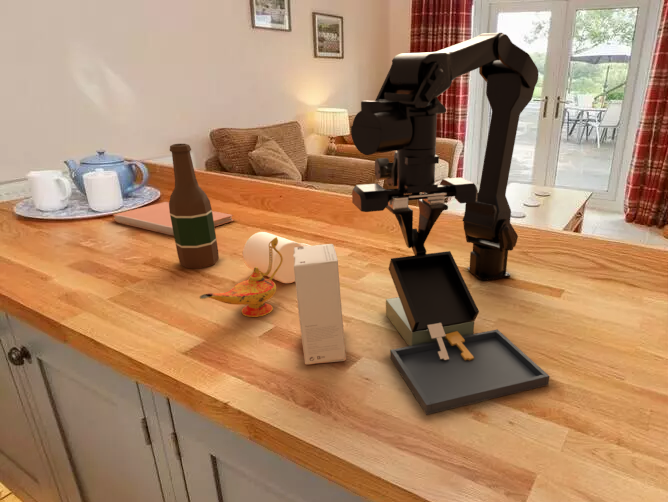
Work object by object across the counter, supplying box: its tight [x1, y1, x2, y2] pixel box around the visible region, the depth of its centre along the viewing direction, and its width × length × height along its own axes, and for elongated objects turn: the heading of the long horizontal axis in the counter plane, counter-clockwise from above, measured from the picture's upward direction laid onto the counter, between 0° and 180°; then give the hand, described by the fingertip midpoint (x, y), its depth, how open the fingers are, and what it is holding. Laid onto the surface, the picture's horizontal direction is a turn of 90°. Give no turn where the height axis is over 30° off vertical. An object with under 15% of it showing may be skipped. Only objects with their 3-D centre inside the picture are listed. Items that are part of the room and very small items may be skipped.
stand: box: [385, 296, 475, 347], centre depth 77 cm, size 12×10×3 cm
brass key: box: [445, 331, 474, 361], centre depth 70 cm, size 6×2×1 cm, turn 28°
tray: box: [389, 328, 551, 416], centre depth 66 cm, size 17×13×1 cm
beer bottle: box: [168, 143, 220, 269], centre depth 98 cm, size 8×8×24 cm
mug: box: [242, 231, 311, 284], centre depth 96 cm, size 12×10×8 cm
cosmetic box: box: [293, 243, 347, 365], centre depth 68 cm, size 8×6×15 cm
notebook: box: [112, 201, 235, 237], centre depth 129 cm, size 27×17×2 cm, turn 61°
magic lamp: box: [199, 237, 283, 318], centre depth 79 cm, size 7×18×11 cm, turn 153°
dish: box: [388, 228, 480, 332], centre depth 75 cm, size 17×10×3 cm, turn 21°
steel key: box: [427, 323, 449, 361], centre depth 69 cm, size 6×2×1 cm
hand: (414, 246), depth 79 cm, fingers closed on dish, 2 cm apart
